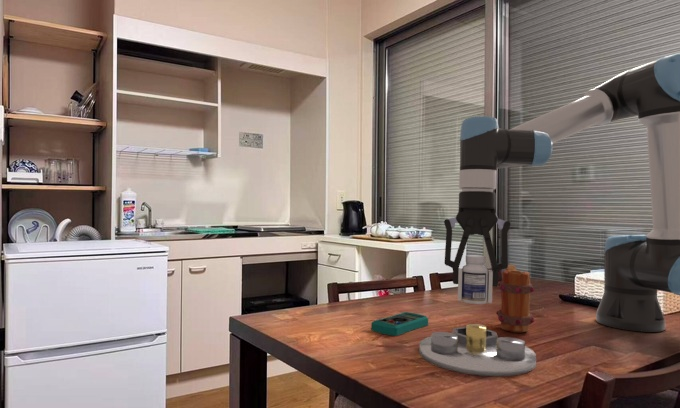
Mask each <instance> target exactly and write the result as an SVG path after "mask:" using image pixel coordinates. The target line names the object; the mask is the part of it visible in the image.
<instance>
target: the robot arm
mask: <svg viewBox="0 0 680 408" xmlns="http://www.w3.org/2000/svg"><path fill="white" fill-rule="evenodd" d="M634 117H638V118H637V119H638V122H639V123H641V124H642V125H643V126H645V128H646V135H647V136H646V140H647V155H648V170H649V185H650V186H649V187H650V198H651V200H650V201H651V214H652V215H651V216H652V227H653V228H652V229H651V230H650V231H649V232H648V233H647V234H627V235H624V234H623V235H614V236H609V237H607V239H606V240H605V247H604V251H603V252H604V253H603V254H604V255H603V256H604V257H603V258H604V259H603V260H604V262H603V263H604V264H603V265H604V267H603V268H604V270H603V271H604V280H603V281H604V282H603V283H604V286H603V287H604V290H603V295H602V298H601V300H600V303H599V305H598V307H597V310H596V312H595V314H596V315H595V317H596V318H595V320H596V322H597V323H598V324H601V325H603V326H607V327H609V328H613V329H619V330H625V331H631V332H644V333H645V332H647V333H657V332H663V331H665V330H666V319H665V317H664V313H663V311H662V307H661V305H660V302H659V299H658V291H661V292H667V293H671V294H674V295H677V296H680V52H678V53H673V54H671V55H666V56H662V57H659V58H658V59H655V60H653V61H651V62H647V63H645V64H641V65H640V66H637V67H634V68H631V69H628V70H626V71H624V72H621V73H619V74H618V75H615V76H614V77H612V78H611V79H609V80H607V81H605V82H604V83H602V84H599V85H598V86H596V87H594V88H592V89H589V90H588V91H586V92H585V93H584V94H583V97H581V98H579V99H576V100H574V101H571V102H569V103H566V104H565V105H562V106H561V107H558V108H556V109H555V108H554V109H553V110H551V111H548V112H547V113H544V114H542V115H539V116H537V117H535V118H533V119H531V120H528V121H526V122H523V123H521V124H518V125H517V126H514V127H512V128H510V129H505V128H502V127H501V128H500V127H499V122H498V119H497V118H496V117H493V116H490V115H489V116H488V115H487V116H485V115H477V116H470V117H468V118H465V119H464V120H462V122H461V126H460V127H461V128H460V135H459V136H460V137H459V145H460V146H459V147H460V148H459V151H460V152H459V154H460V155H459V174H458V175H459V176H458V177H459V178H458V182H459V183H458V188H459V189H460V190H461V191H460V192H459V193H458V212H457V214H456V216H455V217H451V218H446V219H444V221H443V222H444V223H443V224H444V227H445V230H446V231H445V233H446V234H445V248H444V265H445V266H447V267H450V268H452V283H453V285H457V301H458V302H463V301H462V268H463V267H462V268H460V265H461V262H462V260H463V259H462V258H463V255H464V254H465V253H464V252H465V249H466V246H467V243H468V241H469V238H470V237H469V236H470V235H471V236H474V235H478V236H483V240H484V243H485V244H484V245H485V247H486V251H487V256H488V258H489V259H488V260H489V262H490V266H491V269H488V302H487V303H488V304H493V287H496V288H497V287H499V286H498V284H499V272H500V271H501V270H505V269H506V268H507V267H508V265H509V260H508V258H509V250H508V249H509V248H508V247H509V246H508V243H509V242H508V241H509V240H508V233H509V230H510V227H511V222H510V221H509V220H505V219H504V220H503V219H501V218H499V217H498V215H497V213H496V202H497V201H496V199H497V194H496V192H494V190H496V189H497V170H498V169H504V168H505V169H507V168H512V167H518V166H519V167H520V166H528V167H533V166H535V167H538V166H544V165H545V164H546V163H548V162H549V160H550V159H551V156H552V153H553V144H555V143H557V142H560V141H562V140H565V139H566V138H568V137H570V136H573V135H575V134H578V133H579V132H582V131H584V130H586V129H589V128H590V127H593V126H595V125H596V126H604V125H607V124H610V123H611V122H616V121H619V120H622V119H623V120H624V119H628V118H634ZM456 223H458V224H459V226H460V227H461V229H462V231H463V232H462V236H461V238H460V242H459V245H458V248H457V252H456V254H455V257H454V260H451V258H452V257H451V256H452V242H453V229H454V228H455V226H456ZM496 224H497V228H498V230H499V231H500V232H499V235H500V236H499V237H500V238H499V239H500V242H499V244H500V245H499V246H500V247H499V248H500V252H499V253H500V262H499V263H498V261H497V258H496V252H495V249H494V245H493V241H492V238H491V234H490V231H491V230H492V229H493V228H494V227H495V226H496Z"/></svg>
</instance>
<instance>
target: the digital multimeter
mask: <svg viewBox="0 0 680 408" xmlns="http://www.w3.org/2000/svg"><path fill="white" fill-rule="evenodd" d="M370 325H371V327H370V328H371V331H372V332H376V333H378V334H382V335H387V336H392V337H398V336H400V335H404V334H405V333H409V332H411V331H415V330H418V329H422V328H425V327H427V326H429V317H427V316H426V315H422V314H419V313H414V312H413V313H412V312H408V311H407V312H406V311H404V312H400V313H397V314H394V315H391V316H388V317H387V316H386V317H383V318H379V319H376V320H373V321H372V322H371V324H370Z"/></svg>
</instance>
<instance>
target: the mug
mask: <svg viewBox="0 0 680 408" xmlns="http://www.w3.org/2000/svg"><path fill="white" fill-rule="evenodd" d="M516 267H517V266H516V265H514V264H508V267H507V268H506V269H504V270H503V271H502V279H501V281H500V282H498V286H497V287H499V290H500V293H501V309H499V310H497V311H496V312H495V313H496V315H497V317H498V319H497V320H498V321H499V322H500V328H501V329H502V330H503V331H506V332H508V333H509V332H511V333H517V334H519V333H520V334H522V333H525V332H528V331H529V329H530V325H532V324H533V323H534V322H535V318H533V316H534V315H533V314H532V312H530V302H531V301H530V300H531V293H533V292H534V291H535V288H534V286H533V284H531V273H530V272H528V271H521V270H517V268H516Z"/></svg>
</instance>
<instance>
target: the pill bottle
mask: <svg viewBox="0 0 680 408" xmlns="http://www.w3.org/2000/svg"><path fill="white" fill-rule="evenodd" d="M465 263H466V264H465V265H463V266H462V301H461V302H463V303H467V304H472V305H473V304H474V305H484V304H487V303H488V270H489V268H488V267H487V266H485V263H486V256H485V255H481V254H466V255H465Z"/></svg>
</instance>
